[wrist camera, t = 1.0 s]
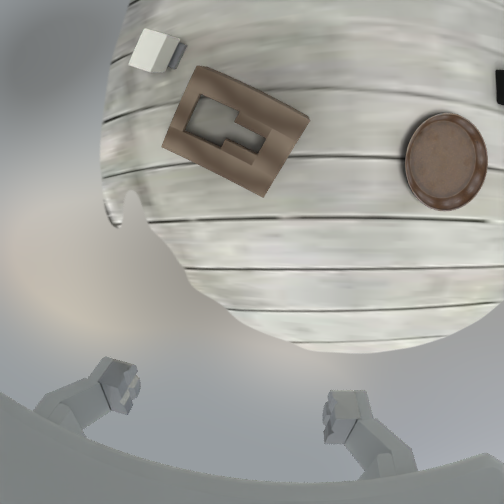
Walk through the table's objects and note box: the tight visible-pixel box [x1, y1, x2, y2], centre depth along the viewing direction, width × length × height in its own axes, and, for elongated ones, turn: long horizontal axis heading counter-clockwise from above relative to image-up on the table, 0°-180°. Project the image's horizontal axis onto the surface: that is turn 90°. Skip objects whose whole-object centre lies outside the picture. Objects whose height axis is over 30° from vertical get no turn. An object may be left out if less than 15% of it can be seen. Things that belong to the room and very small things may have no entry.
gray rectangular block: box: [128, 28, 188, 73], centre depth 35 cm, size 6×4×8 cm
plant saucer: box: [405, 113, 488, 211], centre depth 40 cm, size 18×18×3 cm
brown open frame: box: [162, 66, 310, 198], centre depth 42 cm, size 14×18×5 cm
